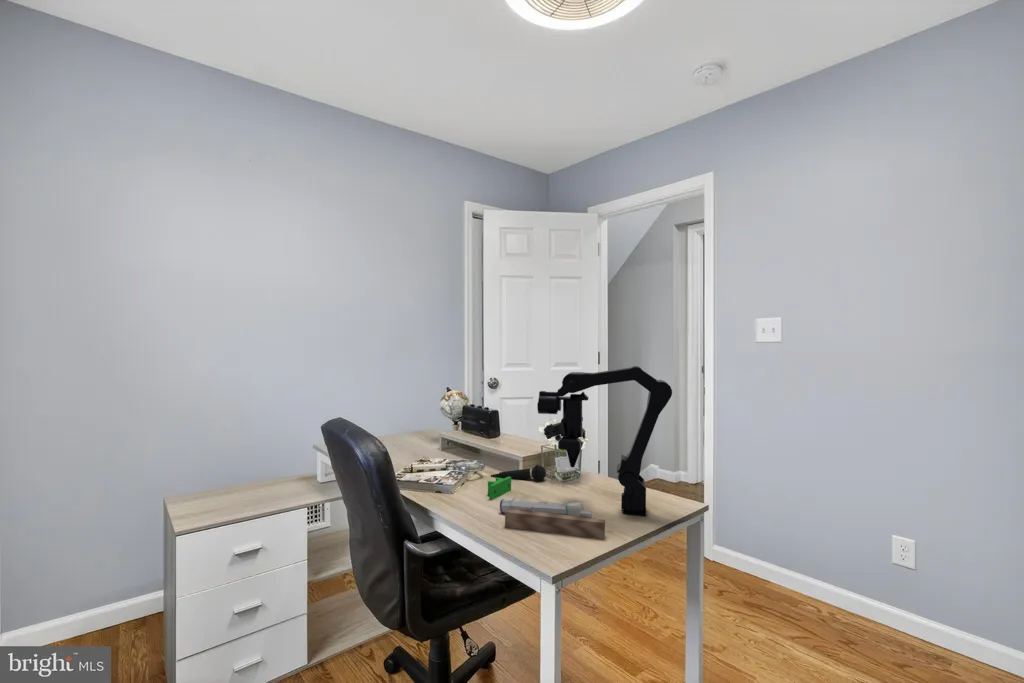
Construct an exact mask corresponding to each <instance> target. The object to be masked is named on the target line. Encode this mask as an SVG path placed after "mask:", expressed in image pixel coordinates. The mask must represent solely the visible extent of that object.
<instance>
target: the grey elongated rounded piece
mask: <svg viewBox="0 0 1024 683" xmlns="http://www.w3.org/2000/svg"><path fill="white" fill-rule="evenodd" d="M521 505H531V506H532V512H541V513H550V514H559V515H568V516H577V517H580V511H584V507H583V505H582V503H581V502H577V501H576V502H573V501H572V502H568V503H562V502H561V503H560V502H547V501H537V500H526V499H516V498H515V497H513V498H502V499H501V500H500V501H499V511H500V513H501V514H505V511H506V510H507V509H514V510H520V506H521Z"/></svg>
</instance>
